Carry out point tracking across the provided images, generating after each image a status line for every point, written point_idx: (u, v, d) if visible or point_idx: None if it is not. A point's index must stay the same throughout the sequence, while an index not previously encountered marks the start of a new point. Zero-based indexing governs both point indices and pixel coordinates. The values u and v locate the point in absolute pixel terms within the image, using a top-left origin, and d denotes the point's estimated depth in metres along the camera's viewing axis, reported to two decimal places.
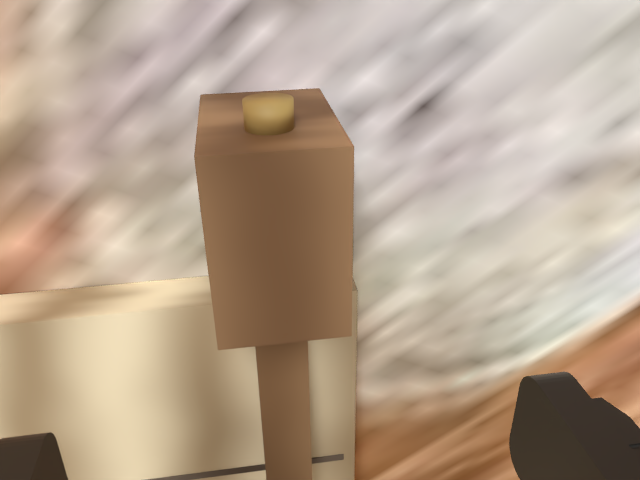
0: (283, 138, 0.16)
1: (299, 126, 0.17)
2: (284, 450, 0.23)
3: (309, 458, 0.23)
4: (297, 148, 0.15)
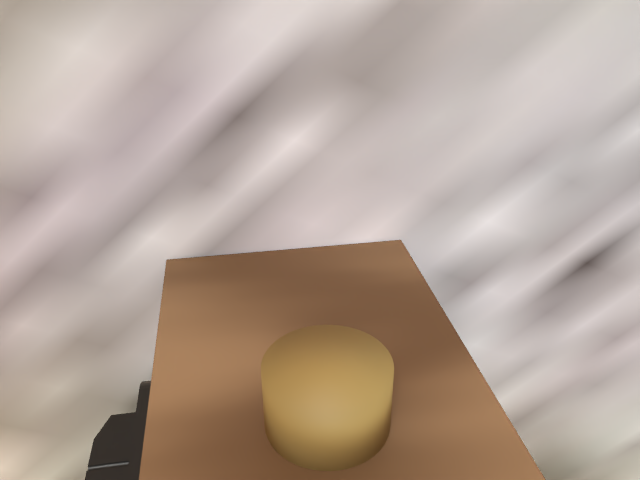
0: None
1: (401, 414, 0.07)
2: None
3: None
4: None
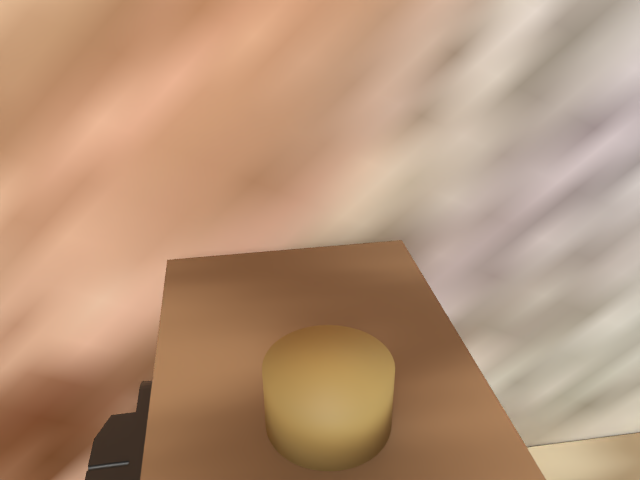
0: None
1: (402, 414, 0.07)
2: None
3: None
4: None
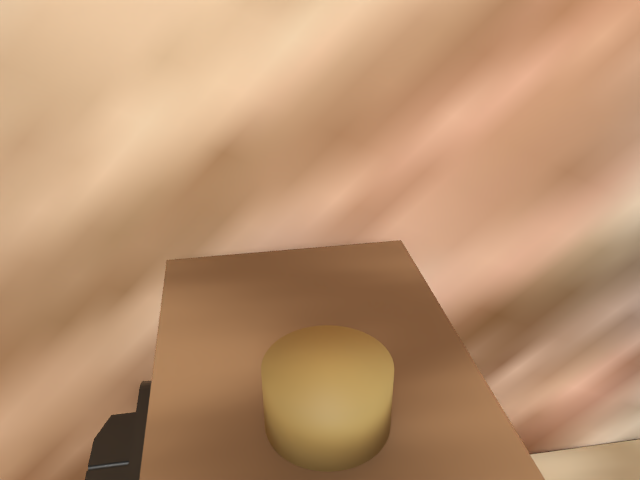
0: None
1: (401, 415, 0.07)
2: None
3: None
4: None
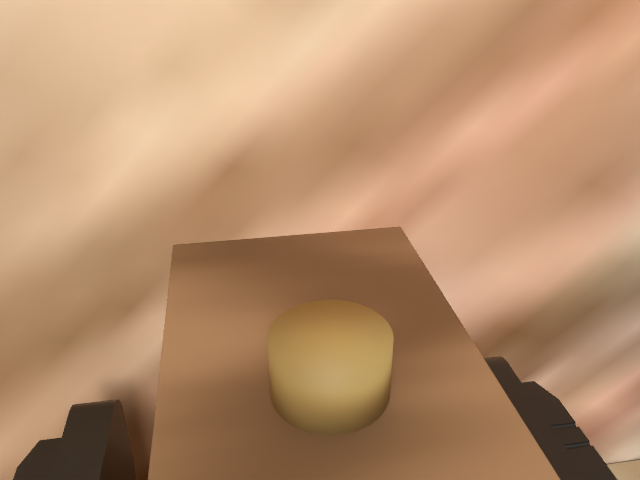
0: (377, 457, 0.06)
1: (401, 385, 0.07)
2: None
3: None
4: None
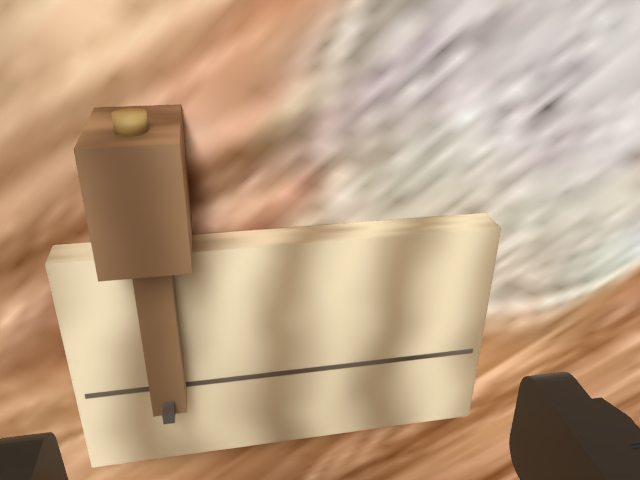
0: (136, 138, 0.24)
1: (152, 130, 0.25)
2: (161, 368, 0.31)
3: (181, 374, 0.32)
4: (142, 144, 0.24)
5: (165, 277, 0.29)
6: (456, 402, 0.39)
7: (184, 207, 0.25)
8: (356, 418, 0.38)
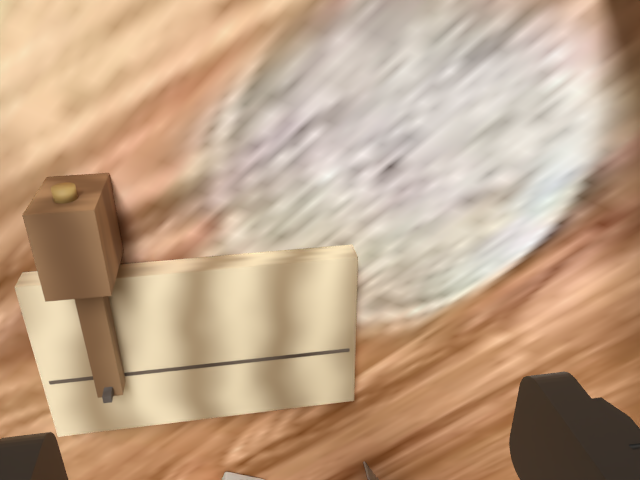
0: (67, 205, 0.36)
1: (79, 198, 0.37)
2: (100, 361, 0.43)
3: (115, 366, 0.43)
4: (69, 211, 0.35)
5: (98, 297, 0.40)
6: (342, 390, 0.50)
7: (101, 251, 0.37)
8: (262, 401, 0.49)
